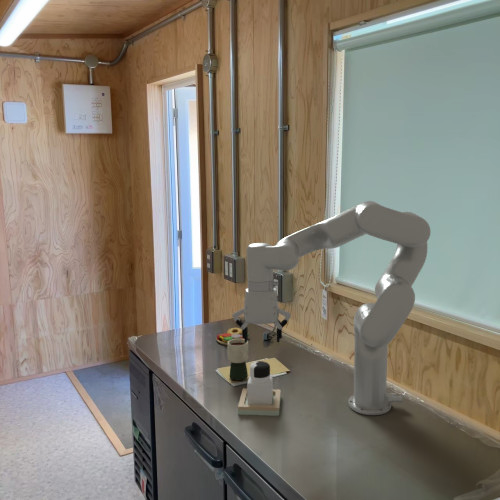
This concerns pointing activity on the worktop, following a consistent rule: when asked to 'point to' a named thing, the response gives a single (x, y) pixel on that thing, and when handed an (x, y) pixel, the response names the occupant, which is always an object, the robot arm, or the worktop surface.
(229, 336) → the toy food set
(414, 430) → the worktop surface
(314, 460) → the worktop surface
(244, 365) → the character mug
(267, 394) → the medicine bottle
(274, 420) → the worktop surface
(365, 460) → the worktop surface
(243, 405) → the beige square tray
